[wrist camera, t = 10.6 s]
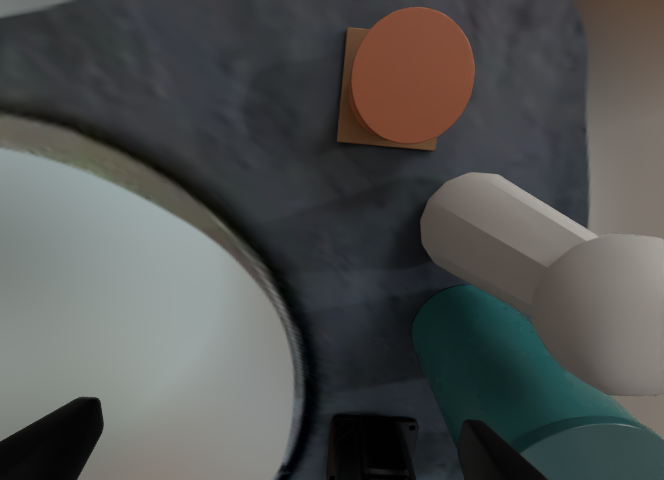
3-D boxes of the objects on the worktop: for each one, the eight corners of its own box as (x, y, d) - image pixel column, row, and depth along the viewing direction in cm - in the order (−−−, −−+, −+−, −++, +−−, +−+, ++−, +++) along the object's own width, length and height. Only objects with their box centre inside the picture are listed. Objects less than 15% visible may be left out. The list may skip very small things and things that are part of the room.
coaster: (432, 150, 19) (435, 151, 18) (336, 141, 18) (337, 141, 18) (452, 40, 17) (455, 38, 17) (346, 29, 17) (347, 26, 16)
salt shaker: (502, 253, 21) (768, 425, 8) (414, 266, 21) (544, 455, 8) (504, 160, 19) (843, 203, 7) (406, 175, 19) (559, 246, 7)
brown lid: (432, 146, 18) (460, 149, 14) (340, 138, 18) (344, 138, 14) (450, 42, 17) (487, 14, 13) (350, 31, 16) (358, -1, 13)
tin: (498, 375, 24) (637, 565, 13) (402, 370, 23) (465, 560, 13) (525, 287, 21) (716, 429, 11) (419, 279, 21) (512, 418, 11)
